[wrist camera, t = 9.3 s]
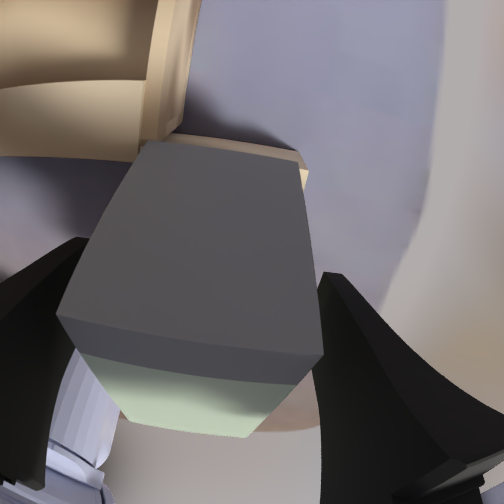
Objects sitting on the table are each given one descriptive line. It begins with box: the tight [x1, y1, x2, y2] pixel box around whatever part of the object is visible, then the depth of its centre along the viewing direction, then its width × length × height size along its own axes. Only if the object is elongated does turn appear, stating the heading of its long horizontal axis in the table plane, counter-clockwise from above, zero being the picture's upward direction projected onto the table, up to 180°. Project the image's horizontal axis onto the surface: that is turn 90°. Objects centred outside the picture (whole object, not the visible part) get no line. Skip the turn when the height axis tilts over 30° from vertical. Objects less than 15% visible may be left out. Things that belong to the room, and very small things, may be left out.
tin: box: [56, 140, 324, 438], centre depth 10 cm, size 8×4×6 cm, turn 170°
